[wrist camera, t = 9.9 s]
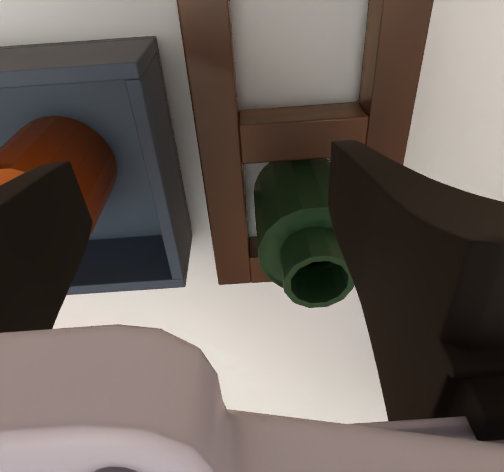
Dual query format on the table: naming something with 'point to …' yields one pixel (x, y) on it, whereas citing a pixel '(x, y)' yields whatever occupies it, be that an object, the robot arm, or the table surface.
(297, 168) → the green bottle
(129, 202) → the basket
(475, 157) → the table surface
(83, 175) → the amber bottle
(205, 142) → the rack
